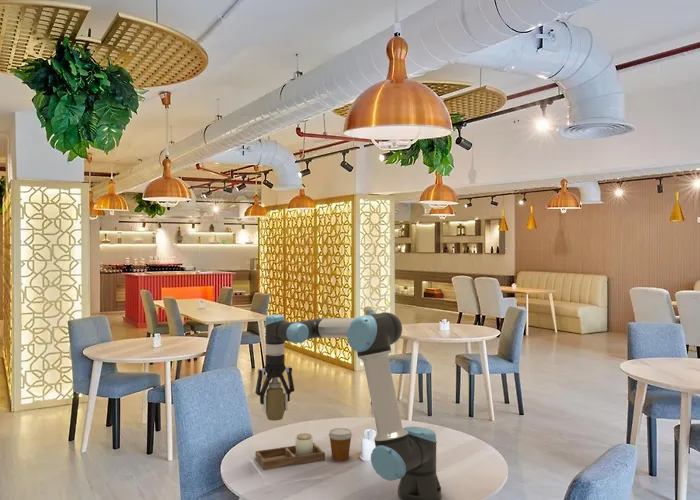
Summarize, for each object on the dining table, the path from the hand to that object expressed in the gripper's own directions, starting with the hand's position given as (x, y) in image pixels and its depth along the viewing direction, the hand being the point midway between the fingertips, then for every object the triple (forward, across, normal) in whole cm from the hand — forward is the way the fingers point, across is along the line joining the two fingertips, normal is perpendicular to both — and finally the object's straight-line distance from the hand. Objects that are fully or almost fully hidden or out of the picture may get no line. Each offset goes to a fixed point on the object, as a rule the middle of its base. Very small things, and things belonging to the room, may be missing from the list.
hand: (275, 410), depth 236 cm
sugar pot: (+20, -12, 0) cm, 24 cm away
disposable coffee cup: (+21, -25, +7) cm, 34 cm away
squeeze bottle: (+3, 0, 0) cm, 3 cm away
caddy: (+21, -6, 0) cm, 22 cm away
